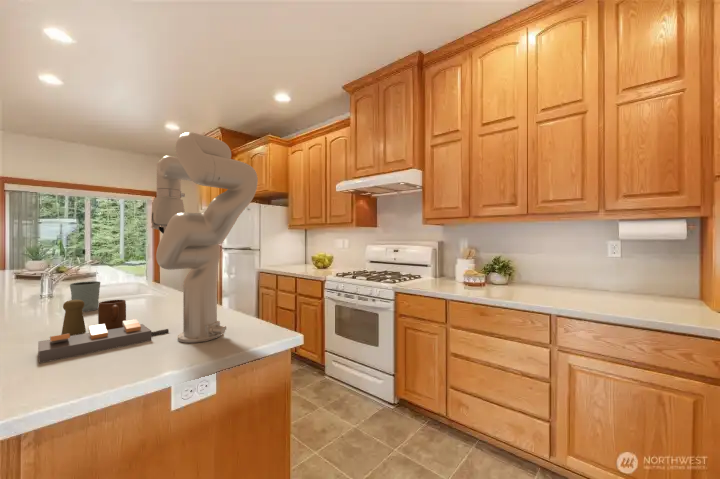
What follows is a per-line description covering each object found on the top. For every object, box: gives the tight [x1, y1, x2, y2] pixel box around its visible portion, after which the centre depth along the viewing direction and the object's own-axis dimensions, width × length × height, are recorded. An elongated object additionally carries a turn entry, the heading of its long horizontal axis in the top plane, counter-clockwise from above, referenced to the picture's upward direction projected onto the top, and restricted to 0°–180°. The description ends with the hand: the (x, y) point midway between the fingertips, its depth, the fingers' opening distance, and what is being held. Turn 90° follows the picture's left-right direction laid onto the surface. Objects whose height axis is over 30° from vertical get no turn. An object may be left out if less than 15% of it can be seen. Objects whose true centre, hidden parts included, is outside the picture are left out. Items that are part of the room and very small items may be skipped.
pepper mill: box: [60, 299, 87, 336], centre depth 103 cm, size 6×6×11 cm
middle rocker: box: [88, 324, 108, 339], centre depth 90 cm, size 4×6×2 cm, turn 47°
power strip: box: [37, 323, 169, 364], centre depth 92 cm, size 30×11×3 cm, turn 137°
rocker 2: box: [122, 318, 141, 333], centre depth 96 cm, size 4×6×2 cm, turn 47°
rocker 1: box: [49, 334, 70, 343], centre depth 84 cm, size 4×6×2 cm, turn 47°
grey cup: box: [69, 280, 101, 313], centre depth 136 cm, size 10×10×12 cm
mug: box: [97, 299, 127, 330], centre depth 107 cm, size 12×8×9 cm, turn 46°
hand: (168, 245), depth 113 cm, fingers closed
